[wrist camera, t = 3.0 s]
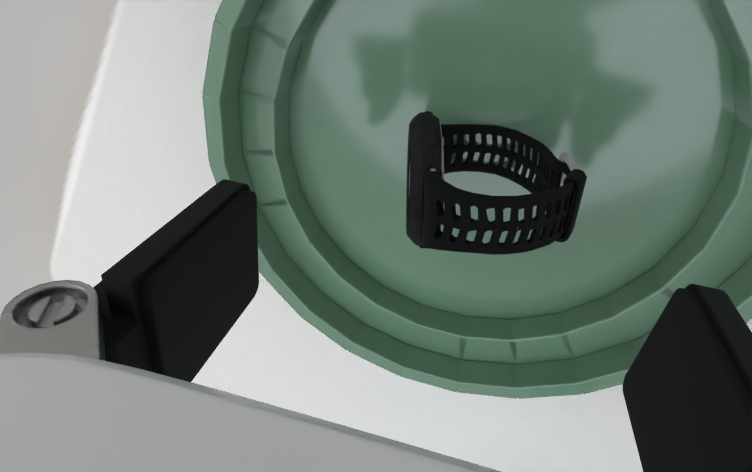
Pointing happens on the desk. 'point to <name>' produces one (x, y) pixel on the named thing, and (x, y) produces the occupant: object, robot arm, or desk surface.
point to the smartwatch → (432, 191)
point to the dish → (500, 108)
